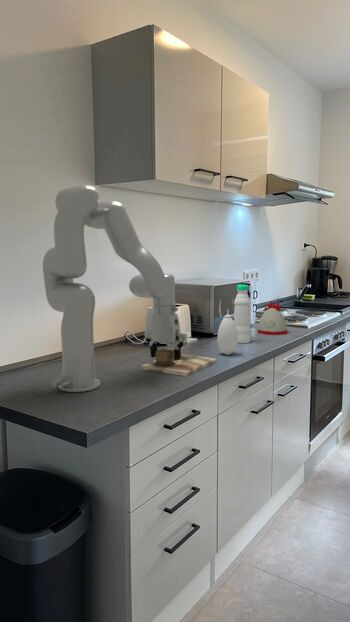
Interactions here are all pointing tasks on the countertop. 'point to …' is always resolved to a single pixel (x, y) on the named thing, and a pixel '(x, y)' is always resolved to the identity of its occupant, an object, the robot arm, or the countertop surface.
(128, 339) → the countertop surface
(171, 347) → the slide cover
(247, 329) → the water bottle
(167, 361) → the walnut block
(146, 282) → the robot arm
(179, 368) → the puzzle board
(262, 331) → the kitchen timer
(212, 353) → the countertop surface
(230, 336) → the sauce bottle
